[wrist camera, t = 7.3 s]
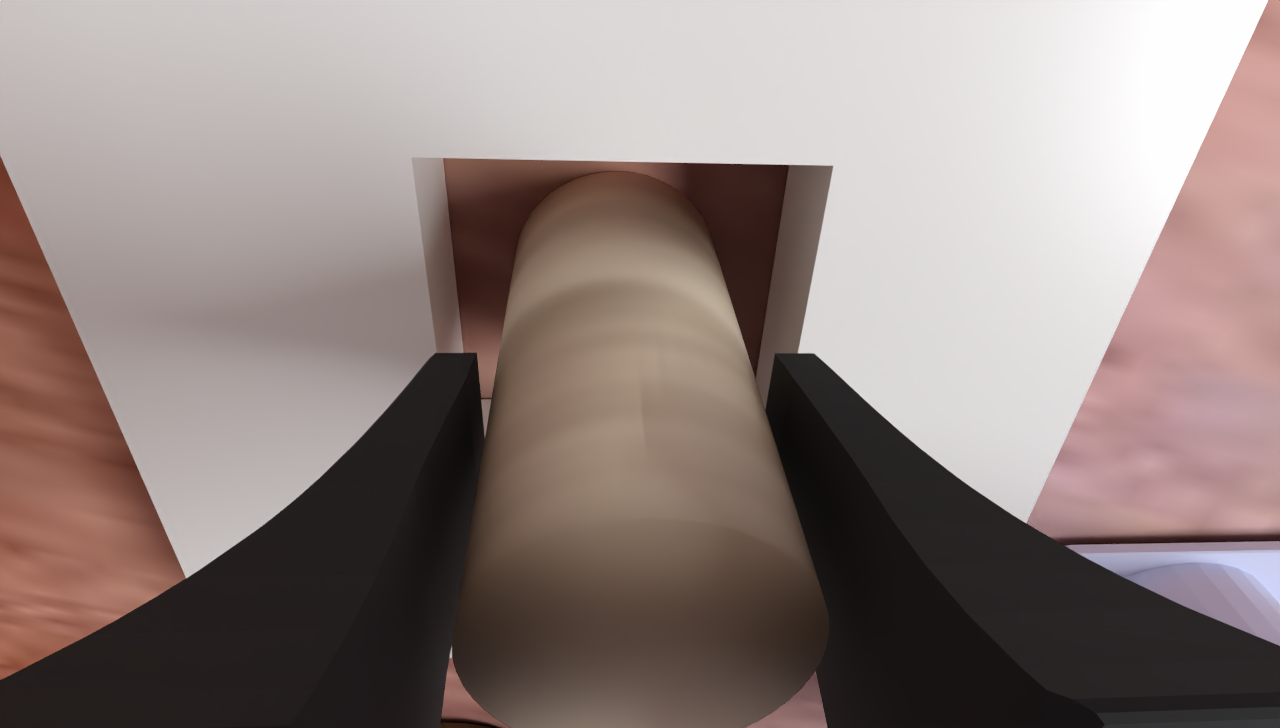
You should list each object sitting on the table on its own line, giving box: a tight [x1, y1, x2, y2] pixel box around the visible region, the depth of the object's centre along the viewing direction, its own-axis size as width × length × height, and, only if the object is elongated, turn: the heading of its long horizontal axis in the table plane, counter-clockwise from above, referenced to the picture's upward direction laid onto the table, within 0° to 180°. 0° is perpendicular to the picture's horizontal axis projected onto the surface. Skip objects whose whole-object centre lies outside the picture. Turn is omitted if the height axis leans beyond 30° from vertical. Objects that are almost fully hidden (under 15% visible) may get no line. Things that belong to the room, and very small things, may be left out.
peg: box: [451, 171, 829, 728], centre depth 12 cm, size 4×4×9 cm
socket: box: [0, 0, 1268, 658], centre depth 14 cm, size 18×18×2 cm
